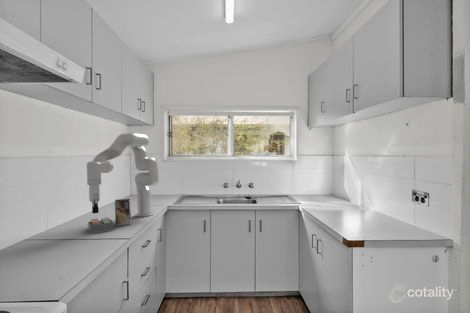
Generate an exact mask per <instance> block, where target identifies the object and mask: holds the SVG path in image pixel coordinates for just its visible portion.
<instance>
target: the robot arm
mask: <svg viewBox="0 0 470 313" xmlns="http://www.w3.org/2000/svg"><path fill="white" fill-rule="evenodd" d="M149 142H150V140H149V137H148V136H147V134H142V133H132V132H131V133H120V134H119V135H118V136H117V137H116V139H115V140H114V141H113V142H112V143H111V145H110V146H109V147H108V148H106V149H105V150H103V151H101V152H99V153H98V154H96V155H95V157H94V158H93V159H92V160H91V161H88V162H87V163H86V180H87V182H86V184H87V186H88V201H89V202H90V203H91V207H92V208H91V211H92V214H99V202H100V198H101V192H100V191H101V190H100V185H102V174H105V173H106V174H108V173H110V172H112V171H113V170H114V164H113V163H112V162H111V161H110V160H113V159H116V158H119V157H120V156H121V155H122V154H123V152H124V151H125V150H126V148H127V147H129V148H131V150H132V152H133V154H134V155H133V156H134V163H135V169H136V170H137V171H141V172H138V173H136V175H135V177H134V182H135V188H136V202H137V203H136V205H137V207H136V209H137V212H136V213H135V217H140V218H141V217H143V218H144V217H150V216H153V215H154V212H153V211H152V205H151V204H152V202H151V200H152V199H151V189H150V187H149V186H156V185H158V183H159V179H160V178H159V167H158V162H157V160H156V159H155V157H147V150H146V148H145V147H147V146H148V145H149ZM143 171H144V172H143ZM145 171H146V172H145Z"/></svg>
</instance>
